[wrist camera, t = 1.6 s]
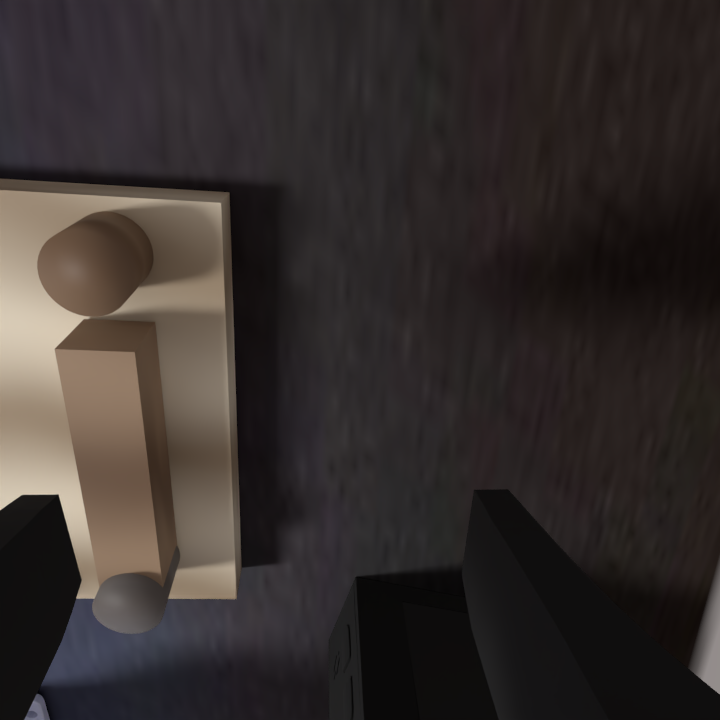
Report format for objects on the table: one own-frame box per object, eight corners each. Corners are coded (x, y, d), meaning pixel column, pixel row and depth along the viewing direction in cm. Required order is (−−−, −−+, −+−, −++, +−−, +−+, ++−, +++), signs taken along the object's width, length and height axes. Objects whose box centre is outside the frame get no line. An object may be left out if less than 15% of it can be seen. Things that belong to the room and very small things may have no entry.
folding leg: (182, 574, 21) (166, 633, 19) (121, 573, 21) (97, 633, 19) (158, 322, 17) (132, 361, 14) (80, 318, 16) (41, 357, 14)
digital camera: (317, 658, 26) (315, 841, 20) (352, 575, 24) (363, 752, 18) (521, 689, 28) (577, 866, 22) (571, 615, 26) (650, 788, 20)
